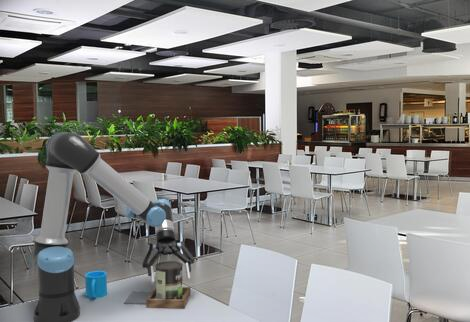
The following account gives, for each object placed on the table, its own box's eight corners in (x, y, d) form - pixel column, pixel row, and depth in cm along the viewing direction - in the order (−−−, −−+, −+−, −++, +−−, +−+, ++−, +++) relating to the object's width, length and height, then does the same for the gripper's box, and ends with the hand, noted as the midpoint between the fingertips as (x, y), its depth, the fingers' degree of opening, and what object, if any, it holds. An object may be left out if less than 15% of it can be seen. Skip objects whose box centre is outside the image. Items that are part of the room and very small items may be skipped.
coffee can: (186, 297, 178) (186, 261, 177) (177, 307, 168) (177, 269, 167) (161, 295, 180) (161, 260, 179) (151, 305, 170) (151, 268, 169)
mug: (87, 291, 185) (87, 271, 184) (108, 290, 186) (108, 270, 185) (81, 302, 173) (81, 281, 172) (103, 301, 174) (103, 280, 173)
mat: (123, 303, 172) (123, 302, 172) (133, 292, 184) (132, 290, 183) (147, 304, 171) (147, 303, 171) (155, 292, 183) (155, 291, 183)
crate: (146, 307, 168) (146, 299, 168) (155, 293, 182) (155, 286, 182) (184, 308, 167) (184, 300, 167) (190, 294, 181) (190, 287, 181)
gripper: (193, 236, 193) (201, 282, 180) (133, 240, 186) (137, 289, 173) (196, 226, 188) (204, 273, 175) (134, 230, 181) (138, 279, 168)
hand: (171, 281), depth 174 cm, fingers open, 13 cm apart
